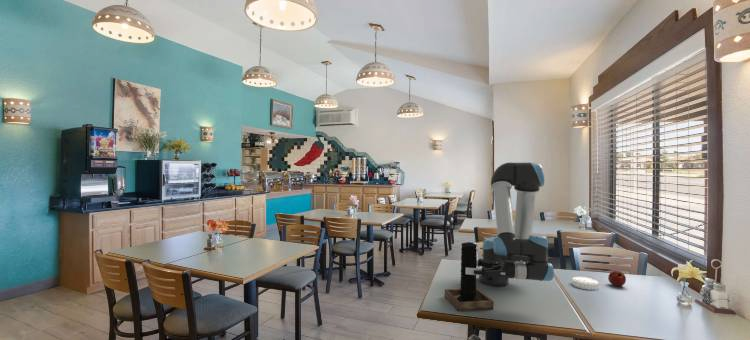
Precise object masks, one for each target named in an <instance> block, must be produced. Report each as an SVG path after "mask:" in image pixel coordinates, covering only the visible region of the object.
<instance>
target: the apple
mask: <svg viewBox="0 0 750 340" xmlns="http://www.w3.org/2000/svg"><path fill="white" fill-rule="evenodd" d="M607 280H608V282H609V283H610V284H611V285H613V286H615V287H622V286H625V283H626V282H627V277H626V275H625V274H624V273H623V272H621V270H613V271H610V273H609V274H608V277H607Z"/></svg>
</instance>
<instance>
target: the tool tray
mask: <svg viewBox="0 0 750 340" xmlns="http://www.w3.org/2000/svg"><path fill="white" fill-rule="evenodd" d="M460 292H461V289H460V288H450V289H449V288H448V289H447V288H446V289H444V298H445V299H446V300H447V301H448V302H449V303H450V305H452V306H453V307H454V308H455V310H457V312H469V311H472V312H473V311H486V310H494V300H493V299H492V298H490V297H489V296H488V295H487V294H485V293H484V292H483V291H481V290H480V289H479V288H477V287H476V298H477V299H478V300H479V301H470V302H459V301H458V300H457V297H459V296H460V295H461V294H460Z"/></svg>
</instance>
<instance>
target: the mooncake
mask: <svg viewBox="0 0 750 340" xmlns="http://www.w3.org/2000/svg"><path fill="white" fill-rule="evenodd" d="M571 284H572V286H574V287H576V288H579V289H583V290H588V291H595V290H599V286H600V285H599V284H600V282H599V281H598V280H596V279H594V278H590V277H587V276H574V277H572V278H571Z"/></svg>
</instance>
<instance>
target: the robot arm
mask: <svg viewBox="0 0 750 340" xmlns="http://www.w3.org/2000/svg"><path fill="white" fill-rule="evenodd" d="M544 173H545V172H544V169H543V167H542V165H541V164H540V163H537V162H536V163H535V162H505V163H503V164H501V165H499V166H498V167H497V168H496V169H495V170H494V172H493V174H492V176H491V180H490V188H491V190H492V191H493V199H494V210H495V221H496V231H497V234H496V235H497V236H492V237H486V238H485V239H484V240H483V242H482V258H479V259H477V260H476V261H477V262H476V263H477V267H476V268H466V272H465V274H469V275H476V276H478V281H479V282H480V283H481V284H484V285H487V286H490V287H491V286H492V287H505V286H508V285H509V283H510V282H509V281H510V280H509V279H512V280H513V279H515V280H525V281H526V280H530V281H540V282H551V281H553V279H554V277H555V269H554V265H553V264H552V263H550V262H548V260H549V259H548V257H549V240H548V237H547V236H545V235H543V234H536V233H535V234H533V227H534V226H533V225H534V216H535V203H536V194H537V193H538V192H539V191H540V188H542V187H543V186H544V185H545V174H544ZM512 187H513V189H514V190H515V191H516V200H515V201H516V204H515V213H513V204H512V195H511V189H512ZM514 214H515V215H514ZM480 267H481V268H480Z"/></svg>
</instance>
